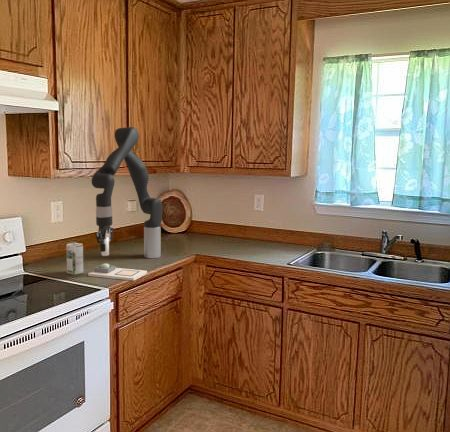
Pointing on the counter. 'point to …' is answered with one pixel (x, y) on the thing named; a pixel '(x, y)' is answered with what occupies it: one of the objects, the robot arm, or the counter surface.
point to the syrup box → (74, 258)
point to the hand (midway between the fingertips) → (105, 250)
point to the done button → (104, 265)
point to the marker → (106, 247)
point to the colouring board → (117, 273)
